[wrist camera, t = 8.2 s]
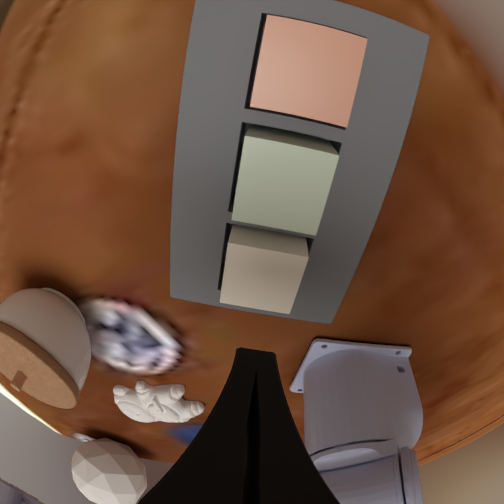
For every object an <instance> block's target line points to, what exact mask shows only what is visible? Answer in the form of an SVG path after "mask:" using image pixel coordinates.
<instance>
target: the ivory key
mask: <svg viewBox="0 0 504 504" xmlns="http://www.w3.org/2000/svg"><path fill="white" fill-rule="evenodd" d="M308 258H309V255H308V248H307V241H306V237H302V236H297V235H292V234H287V233H281V232H276V231H270V230H265V229H260V228H254V227H249V226H243V225H237V224H233V225H232V229H231V233H230V237H229V241H228V246H227V253H226V260H225V267H224V274H223V281H222V288H221V295H220V303H225V304H231V305H236V306H242V307H248V308H254V309H260V310H266V311H272V312H278V313H285V314H290V311H291V309H292V306H293V303H294V300H295V297H296V294H297V291H298V288H299V285H300V283H301V280H302V277H303V274H304V271H305V268H306V265H307V262H308Z"/></svg>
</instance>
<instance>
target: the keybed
mask: <svg viewBox="0 0 504 504" xmlns="http://www.w3.org/2000/svg"><path fill="white" fill-rule="evenodd" d="M267 15H273V16H279V17H284V18H290V19H295V20H300V21H304V22H309V23H313V24H317V25H321V26H325V27H329V28H333V29H337V30H340V31H344V32H347V33H351V34H354V35H357V36H360V37H363V38H366V39H368V40H367V45H366V50H365V54H364V59H363V63H362V68H361V72H360V76H359V81H358V85H357V89H356V93H355V98H354V102H353V106H352V110H351V114H350V118H349V122H348V125H347V128H346V127H342V126H339V125H335V124H331V123H327V122H323V121H319V120H315V119H310V118H306V117H301V116H297V115H292V114H287V113H282V112H277V111H272V110H267V109H261V108H255V107H250V103H251V98H252V92H253V87H254V81H255V76H256V70H257V65H258V59H259V54H260V49H261V44H262V38H263V33H264V28H265V23H266V18H267ZM428 41H429V35H427V34H425V33H423V32H420V31H418V30H416V29H414V28H411V27H409V26H407V25H404V24H402V23H400V22H397V21H395V20H392V19H390V18H387V17H384V16H382V15H379V14H376V13H373V12H370V11H367V10H364V9H361V8H358V7H355V6H352V5H349V4H345V3H342V2H338V1H334V0H196V2H195V7H194V12H193V18H192V23H191V29H190V35H189V41H188V47H187V53H186V60H185V67H184V74H183V82H182V89H181V98H180V106H179V116H178V125H177V136H176V147H175V160H174V174H173V190H172V211H171V240H170V297H173V298H178V299H183V300H187V301H193V302H198V303H203V304H208V305H213V306H219V307H224V308H230V309H236V310H241V311H247V312H253V313H259V314H265V315H271V316H278V317H284V318H291V319H298V320H304V321H312V322H319V323H326V324H331V323H332V321H333V319H334V317H335V315H336V313H337V310H338V308H339V306H340V304H341V302H342V300H343V298H344V295H345V293H346V291H347V289H348V287H349V284H350V282H351V280H352V278H353V275H354V273H355V271H356V269H357V266H358V264H359V262H360V259H361V257H362V254H363V252H364V250H365V247H366V245H367V242H368V240H369V237H370V235H371V232H372V230H373V227H374V225H375V222H376V219H377V217H378V214H379V212H380V209H381V206H382V203H383V201H384V198H385V195H386V192H387V190H388V187H389V184H390V181H391V178H392V175H393V172H394V169H395V166H396V163H397V160H398V157H399V154H400V151H401V148H402V144H403V141H404V138H405V134H406V131H407V128H408V124H409V121H410V117H411V114H412V110H413V106H414V102H415V99H416V95H417V91H418V87H419V83H420V79H421V74H422V70H423V65H424V61H425V56H426V51H427V47H428ZM250 125H256V126H262V127H267V128H273V129H278V130H283V131H288V132H293V133H297V134H302V135H306V136H311V137H315V138H319V139H324V140H328V141H330V143H331V144H332V146H333V147H334V148H335V150H336V151H337V153H338V154H339V159H338V163H337V166H336V170H335V173H334V177H333V180H332V184H331V187H330V191H329V194H328V197H327V201H326V204H325V207H324V211H323V214H322V217H321V221H320V224H319V227H318V230H317V233H316V236H314V235H309V234H304V233H299V232H294V231H288V230H283V229H278V228H272V227H267V226H262V225H256V224H251V223H245V222H240V221H234V220H231V219H232V213H233V206H234V200H235V193H236V187H237V181H238V175H239V168H240V162H241V156H242V150H243V144H244V138H245V135H246V132H247V130H248V128H249V126H250ZM233 224H237V225H243V226H249V227H254V228H260V229H265V230H270V231H276V232H281V233H287V234H292V235H297V236H302V237H306V241H307V248H308V255H309V258H308V262H307V265H306V268H305V271H304V274H303V277H302V280H301V283H300V285H299V288H298V291H297V294H296V297H295V300H294V303H293V306H292V309H291V311H290V314H285V313H278V312H272V311H266V310H260V309H254V308H248V307H242V306H236V305H231V304H225V303H220V295H221V288H222V281H223V274H224V267H225V260H226V253H227V246H228V241H229V237H230V233H231V229H232V225H233Z"/></svg>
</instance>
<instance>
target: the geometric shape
mask: <svg viewBox="0 0 504 504" xmlns="http://www.w3.org/2000/svg"><path fill="white" fill-rule="evenodd" d="M72 475H73V480H74V482H75V484H76V485H77V487H78V489H79V490H80V491H81V492H82V493H83V494H84V495H85V496H86V497H87V498H88V499H89V500H90V501H93V502H95V503H98V504H135V503H136V502H137V500H138V499H139V498H140V496H141V495H142V493H143V492H144V491H145V489H146V487H147V481H146V473H145V464H144V463H143V462H142V461H141V460H140V459H139V457H138V456H137V455H136V454H135V453H134V452H133V450H132V449H131V448H130V447H129V446H128V445H125V444H122V443H119V442H117V441H114V440H111V439H109V438H101V439H97V440H92V441H88V442H84V443H83V444H82V445H81V446H80V447H79V448H78V449H77V450H76V451H75V453H74V455H73V457H72Z"/></svg>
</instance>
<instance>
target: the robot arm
mask: <svg viewBox="0 0 504 504" xmlns="http://www.w3.org/2000/svg"><path fill="white" fill-rule="evenodd" d="M411 353H412V349H411V348H410V347H402V346H389V345H377V344H366V343H355V342H346V341H336V340H328V339H315V340H313V341H312V343H311V345H310V347H309V349H308V352H307V354H306V356H305V358H304V360H303V362H302V364H301V366H300V368H299V370H298V372H297V374H296V376H295V378H294V379H293V381H292V383H291V385H290V391H292V392H298V393H304V432H305V446H304V444H303V442H302V439H301V437H300V435H299V433H298V430H297V428H296V425H295V423H294V420H293V418H292V415H291V412H290V409H289V406H288V403H287V400H286V397H285V394H284V391H283V387H282V383H281V379H280V375H279V371H278V366H277V360H276V355H275V354H274V353H273V352H266V351H259V350H253V349H247V348H238V349H237V350H236V354H235V359H234V363H233V366H232V369H231V372H230V374H229V377H228V379H227V382H226V384H225V386H224V388H223V390H222V392H221V395H220V397H219V399H218V400H217V402H216V404H215V406H214V408H213V409H212V411H211V413H210V415H209V416H208V418H207V420H206V421H205V423H204V425H203V426H202V428H201V429H200V431H199V432H198V434H197V435H196V437H195V438H194V439H193V441H192V442H191V444H190V445H189V446H188V448H187V449H186V450H185V452H184V453H183V454H182V455H181V457H180V458H179V459H178V460H177V462H176V463H175V464H174V465H173V466H172V468H171V469H170V470H169V471H168V472H167V473H166V474H165V475H164V477H163V478H162V479H161V480H160V481H159V482H158V483H157V484H156V485H155V486H154V487H153V488H152V489H151V490H150V491H149V492H148V493H147V494H146V495H145V496H144V497H143V498H142V499H141V500H140V501H139V503H138V504H423V496H422V487H421V480H420V474H419V467H418V462H417V456H416V452H415V451H414V450H412V448H413V446H414V445H415V444H416V442H417V441H418V439H419V437H420V434H421V431H422V425H423V410H422V405H421V401H420V397H419V394H418V390H417V386H416V383H415V379H414V376H413V372H412V369H411V365H410V362H409V359H408V357H409V356H410V355H411ZM0 504H44V503H42V502H40V501H39V500H38V499H37V498H35V497H33V496H31V495H29V494H28V493H26V492H24V491H23V490H21V489H19V488H18V487H16V486H14V485H12V484H10V483H8V482H6V481H4V480H2V479H1V478H0Z"/></svg>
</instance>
